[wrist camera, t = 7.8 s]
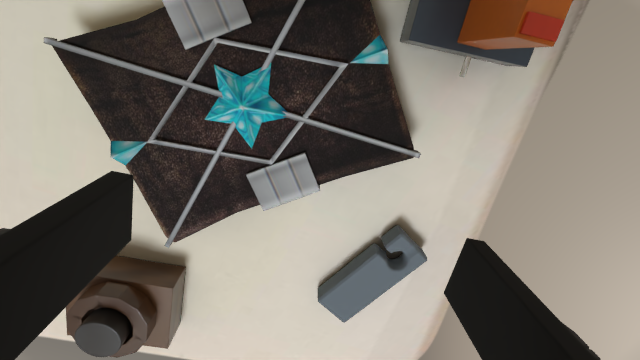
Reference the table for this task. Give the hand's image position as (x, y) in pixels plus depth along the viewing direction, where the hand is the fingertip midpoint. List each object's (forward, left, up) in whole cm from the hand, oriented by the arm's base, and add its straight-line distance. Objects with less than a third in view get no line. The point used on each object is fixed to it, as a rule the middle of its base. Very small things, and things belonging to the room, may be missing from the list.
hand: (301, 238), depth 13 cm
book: (+5, +2, -16) cm, 17 cm away
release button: (-3, +22, -11) cm, 25 cm away
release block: (-3, +22, -16) cm, 27 cm away
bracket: (-14, +2, -16) cm, 21 cm away
